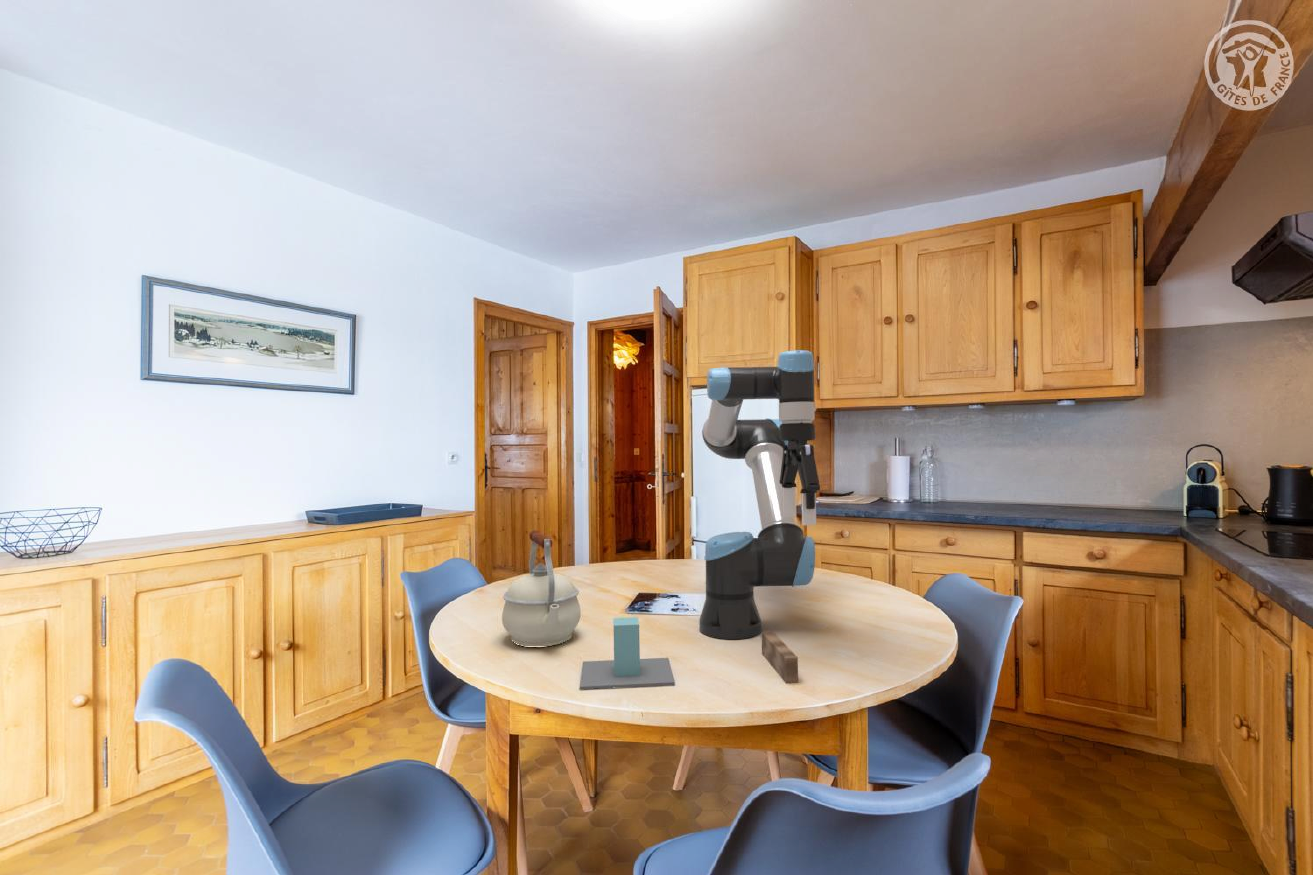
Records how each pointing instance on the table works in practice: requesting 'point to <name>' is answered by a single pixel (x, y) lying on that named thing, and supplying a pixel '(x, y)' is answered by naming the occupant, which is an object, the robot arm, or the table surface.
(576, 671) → the table surface
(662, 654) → the table surface
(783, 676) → the rail
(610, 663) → the mat
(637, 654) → the block
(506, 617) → the kettle
